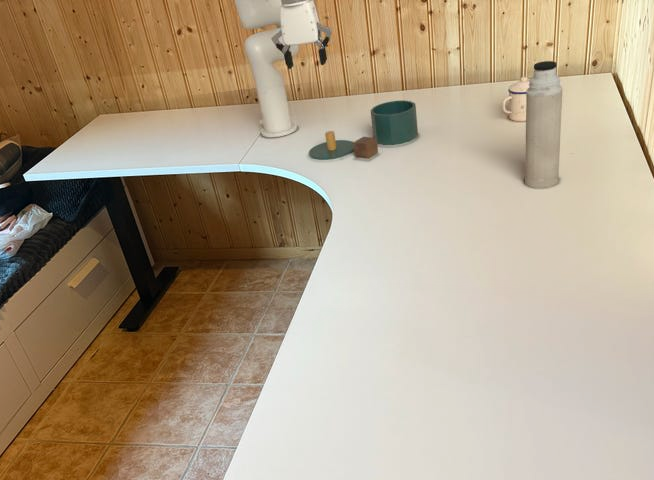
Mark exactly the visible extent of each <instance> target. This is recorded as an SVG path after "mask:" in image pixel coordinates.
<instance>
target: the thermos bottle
mask: <svg viewBox="0 0 654 480" xmlns="http://www.w3.org/2000/svg"><path fill="white" fill-rule="evenodd" d="M556 67H557V62H556V61H554V60H553V61H552V60H544V61H539V62H536V63H535V64H533V77H531V78H530V79H529V80H530V84H529V87H530V88H528V89H527V91H526V121H525V148H524V149H525V155H524V156H525V157H524V159H525V161H524V162H525V163H524V183H525V185H526V186H528V187H531V188H535V189H537V188H538V189H541V188H544V189H545V188H549V187H553V186H555V185H556V184H557V183H558V182H559V174H560V154H561V153H560V151H561V129H562V109H563V107H562V106H563V86H561V85H560V84H561V78H560V76H558V75H557V69H556Z"/></svg>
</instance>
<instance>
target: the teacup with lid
mask: <svg viewBox="0 0 654 480" xmlns="http://www.w3.org/2000/svg"><path fill="white" fill-rule="evenodd" d="M529 84H530V79H529V78H528V77H527V76H522V77H520V80H518V81H517V82H515V83H512V84H511V85H510V86H509V87H508V90H507V91H508V96H506V97H505V98H503V100H502V101H501V108H502V112H504V113H505V114H508V118H509V120H511V121H514V122H526V91H527V89H528V88H530V87H529ZM507 101H508V110H507V108H506V103H507Z"/></svg>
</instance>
